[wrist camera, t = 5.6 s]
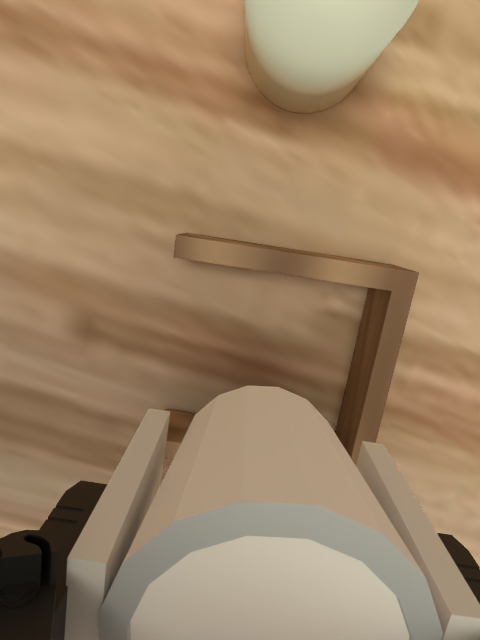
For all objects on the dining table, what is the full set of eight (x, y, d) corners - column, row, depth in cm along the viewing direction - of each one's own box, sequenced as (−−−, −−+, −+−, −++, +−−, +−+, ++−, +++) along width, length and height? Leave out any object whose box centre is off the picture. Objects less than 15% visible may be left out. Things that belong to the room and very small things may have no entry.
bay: (164, 424, 29) (151, 456, 25) (187, 232, 26) (176, 235, 22) (348, 451, 29) (363, 487, 25) (393, 264, 26) (419, 272, 22)
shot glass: (238, 328, 14) (229, 433, 7) (394, 440, 15) (523, 631, 8) (128, 473, 15) (29, 680, 8) (276, 568, 16) (297, 827, 9)
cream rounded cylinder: (236, 103, 24) (231, 46, 16) (255, -37, 22) (260, -175, 14) (354, 122, 24) (405, 75, 16) (382, -16, 22) (454, -142, 15)
